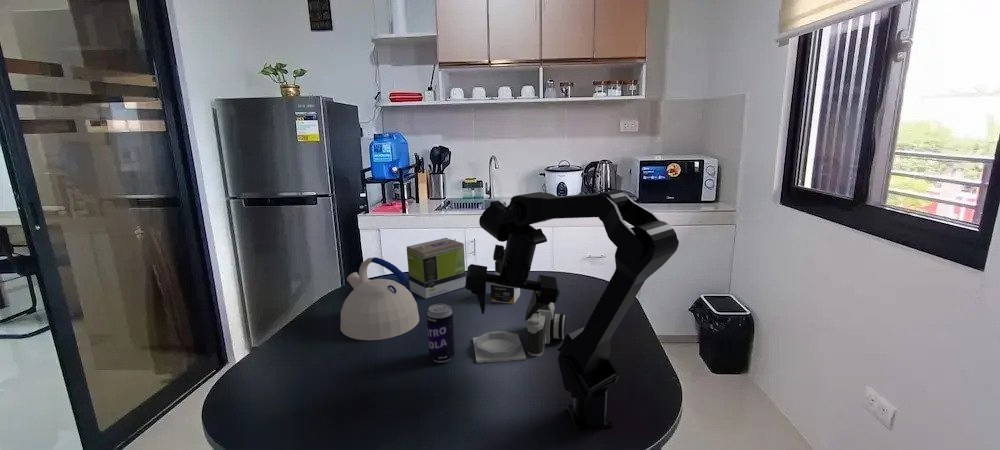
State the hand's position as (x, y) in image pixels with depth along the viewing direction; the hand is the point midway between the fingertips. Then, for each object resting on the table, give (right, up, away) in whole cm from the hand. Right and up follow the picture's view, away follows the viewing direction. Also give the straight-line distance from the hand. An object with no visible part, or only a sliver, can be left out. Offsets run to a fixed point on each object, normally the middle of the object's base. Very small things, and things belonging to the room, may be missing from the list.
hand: (504, 316), depth 97 cm
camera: (+10, -9, +14) cm, 19 cm away
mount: (-1, -10, +10) cm, 14 cm away
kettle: (-33, -7, +25) cm, 41 cm away
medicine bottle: (+1, -3, +40) cm, 40 cm away
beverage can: (-14, -11, +6) cm, 19 cm away
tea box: (-20, -1, +48) cm, 52 cm away
